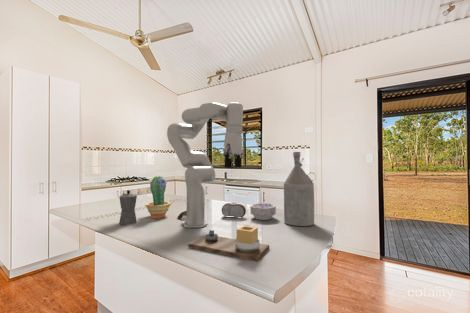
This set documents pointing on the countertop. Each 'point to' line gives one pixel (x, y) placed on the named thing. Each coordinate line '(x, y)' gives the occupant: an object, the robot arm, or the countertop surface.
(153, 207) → the potted cactus
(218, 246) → the board
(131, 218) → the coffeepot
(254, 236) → the hollow square block
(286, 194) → the grey bottle
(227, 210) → the tin
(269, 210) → the paper bowls
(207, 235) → the round drawer knob
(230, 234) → the countertop surface
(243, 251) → the hub
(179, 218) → the bread roll
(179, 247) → the countertop surface
